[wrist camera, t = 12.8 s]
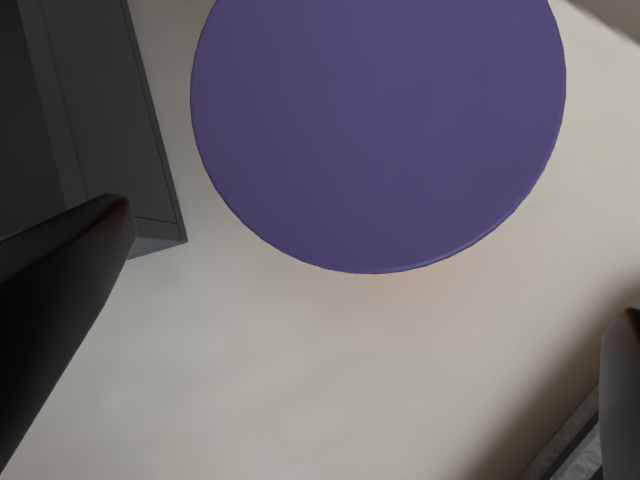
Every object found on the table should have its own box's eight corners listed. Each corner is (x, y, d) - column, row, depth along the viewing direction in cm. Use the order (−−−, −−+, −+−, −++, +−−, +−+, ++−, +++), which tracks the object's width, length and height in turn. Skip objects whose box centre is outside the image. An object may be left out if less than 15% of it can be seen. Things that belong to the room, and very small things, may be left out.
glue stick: (421, 283, 17) (485, 331, 5) (307, 240, 17) (136, 198, 6) (465, 167, 17) (627, -43, 5) (349, 127, 17) (261, -141, 6)
